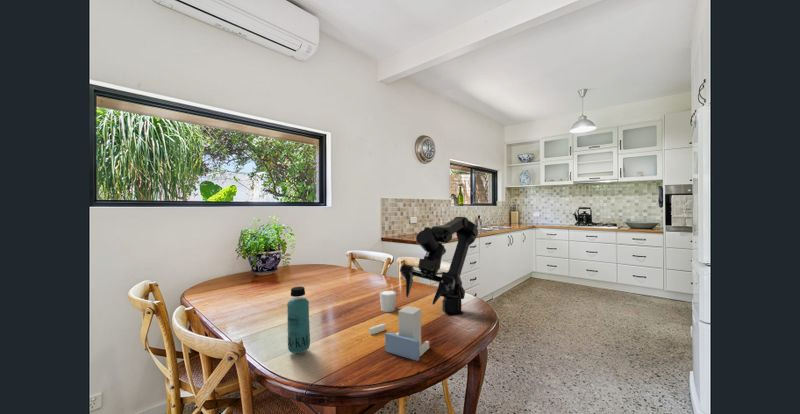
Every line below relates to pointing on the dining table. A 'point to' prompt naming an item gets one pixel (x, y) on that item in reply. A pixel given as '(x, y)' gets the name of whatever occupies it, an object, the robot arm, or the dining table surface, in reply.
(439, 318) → the dining table surface
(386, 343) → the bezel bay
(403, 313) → the plug block
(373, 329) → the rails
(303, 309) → the beverage bottle
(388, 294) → the shot glass
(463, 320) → the dining table surface
